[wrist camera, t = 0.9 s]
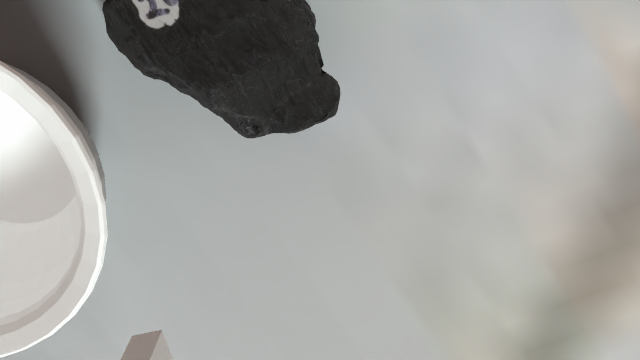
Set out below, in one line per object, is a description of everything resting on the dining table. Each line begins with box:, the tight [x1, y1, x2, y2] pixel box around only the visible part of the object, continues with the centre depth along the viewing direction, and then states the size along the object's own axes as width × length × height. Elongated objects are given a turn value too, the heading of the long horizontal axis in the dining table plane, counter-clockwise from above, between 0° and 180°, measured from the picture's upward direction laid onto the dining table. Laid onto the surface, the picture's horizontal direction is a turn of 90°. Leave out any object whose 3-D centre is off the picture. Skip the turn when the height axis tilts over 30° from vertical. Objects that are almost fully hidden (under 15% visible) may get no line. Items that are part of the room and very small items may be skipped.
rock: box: [102, 0, 340, 138], centre depth 25 cm, size 11×8×10 cm
